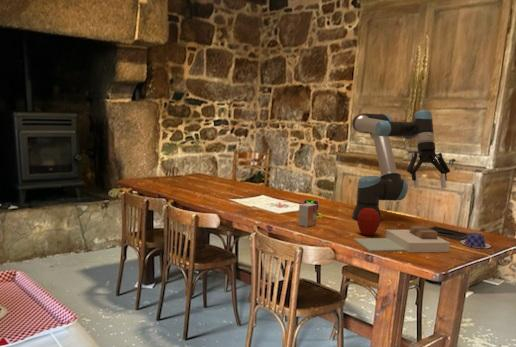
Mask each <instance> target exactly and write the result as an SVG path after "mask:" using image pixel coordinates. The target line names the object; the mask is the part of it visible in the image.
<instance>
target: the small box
mask: <svg viewBox="0 0 516 347" xmlns="http://www.w3.org/2000/svg"><path fill="white" fill-rule="evenodd" d="M298 207H299V208H298V212H299V215H298V221H297V222H298V223H297V225H298V226H301V227H306V228H308V227H312V226H316V224H317V218H316V215H317V213H318V210H317V204H312V203H306V204H303V203H301V204H299V206H298Z"/></svg>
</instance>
